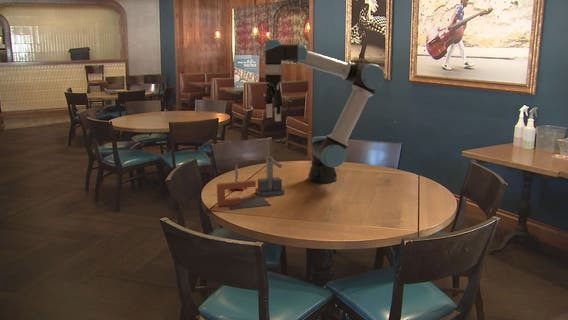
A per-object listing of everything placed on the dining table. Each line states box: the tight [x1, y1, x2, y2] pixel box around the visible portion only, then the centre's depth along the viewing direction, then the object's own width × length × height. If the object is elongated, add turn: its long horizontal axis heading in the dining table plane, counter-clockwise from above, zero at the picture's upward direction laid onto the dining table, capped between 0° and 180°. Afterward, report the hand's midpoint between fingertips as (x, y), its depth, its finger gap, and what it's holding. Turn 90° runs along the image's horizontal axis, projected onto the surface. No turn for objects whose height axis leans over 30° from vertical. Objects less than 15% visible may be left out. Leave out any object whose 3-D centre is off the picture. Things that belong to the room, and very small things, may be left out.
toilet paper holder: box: [254, 155, 285, 198], centre depth 226 cm, size 12×20×18 cm, turn 18°
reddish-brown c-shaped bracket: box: [216, 179, 257, 207], centre depth 216 cm, size 10×2×17 cm
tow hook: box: [229, 164, 247, 192], centre depth 242 cm, size 8×13×9 cm
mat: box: [227, 195, 272, 211], centre depth 219 cm, size 18×14×1 cm
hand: (273, 119), depth 233 cm, fingers open, 13 cm apart
